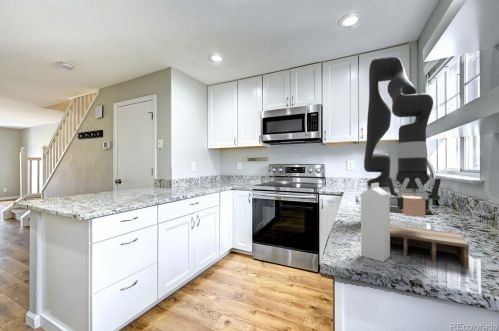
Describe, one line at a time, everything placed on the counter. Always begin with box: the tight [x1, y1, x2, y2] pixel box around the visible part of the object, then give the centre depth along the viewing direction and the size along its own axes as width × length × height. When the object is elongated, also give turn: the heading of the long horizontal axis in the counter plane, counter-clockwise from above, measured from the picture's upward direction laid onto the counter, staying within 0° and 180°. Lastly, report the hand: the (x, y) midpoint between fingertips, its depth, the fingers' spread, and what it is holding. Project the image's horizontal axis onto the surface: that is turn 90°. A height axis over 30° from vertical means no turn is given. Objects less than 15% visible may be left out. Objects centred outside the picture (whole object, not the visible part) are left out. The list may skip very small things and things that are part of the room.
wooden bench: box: [390, 223, 470, 269], centre depth 68 cm, size 12×21×6 cm, turn 54°
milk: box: [360, 183, 391, 263], centre depth 65 cm, size 6×6×22 cm
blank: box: [400, 195, 426, 218], centre depth 69 cm, size 10×5×5 cm, turn 150°
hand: (412, 209), depth 69 cm, fingers closed on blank, 5 cm apart
